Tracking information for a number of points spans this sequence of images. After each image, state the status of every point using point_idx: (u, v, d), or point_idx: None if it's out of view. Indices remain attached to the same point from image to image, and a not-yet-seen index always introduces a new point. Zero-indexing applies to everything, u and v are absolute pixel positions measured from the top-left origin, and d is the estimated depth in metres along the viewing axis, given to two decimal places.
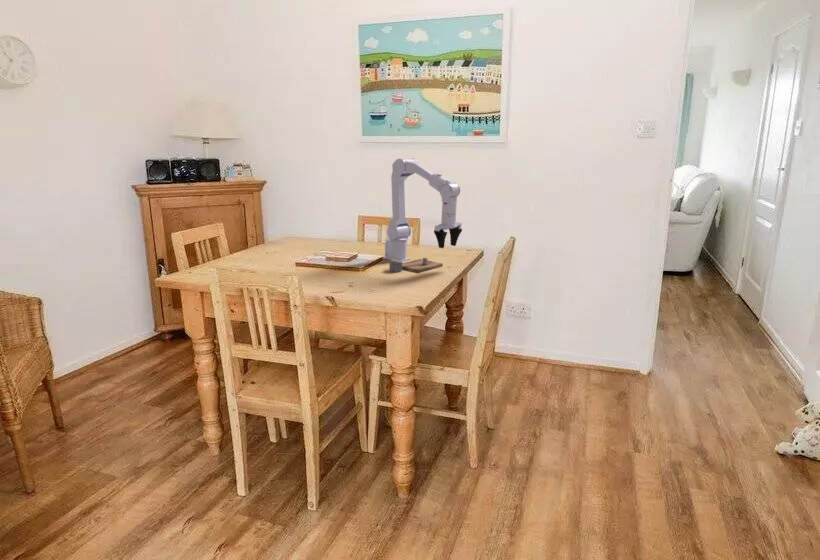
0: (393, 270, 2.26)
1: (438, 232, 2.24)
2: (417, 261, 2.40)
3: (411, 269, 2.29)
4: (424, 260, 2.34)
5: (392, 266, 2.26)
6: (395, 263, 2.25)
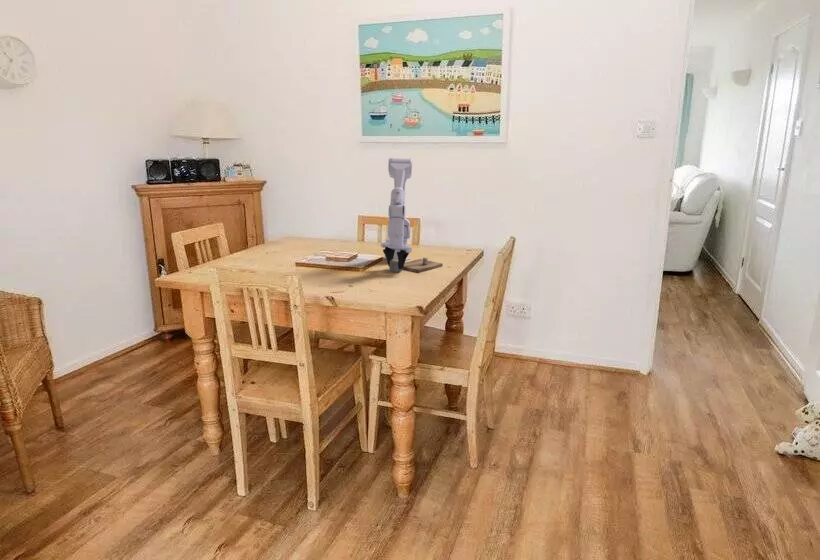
0: (393, 270, 2.26)
1: None
2: (417, 261, 2.40)
3: (411, 269, 2.29)
4: (424, 260, 2.34)
5: (392, 266, 2.26)
6: (395, 263, 2.25)
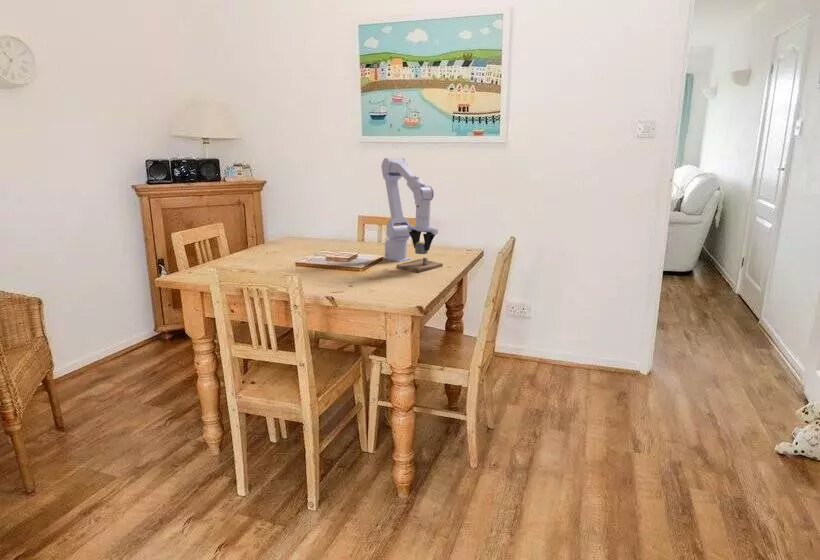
0: (419, 252, 2.30)
1: None
2: (417, 261, 2.40)
3: (411, 269, 2.29)
4: (424, 260, 2.34)
5: (418, 248, 2.30)
6: (421, 245, 2.29)
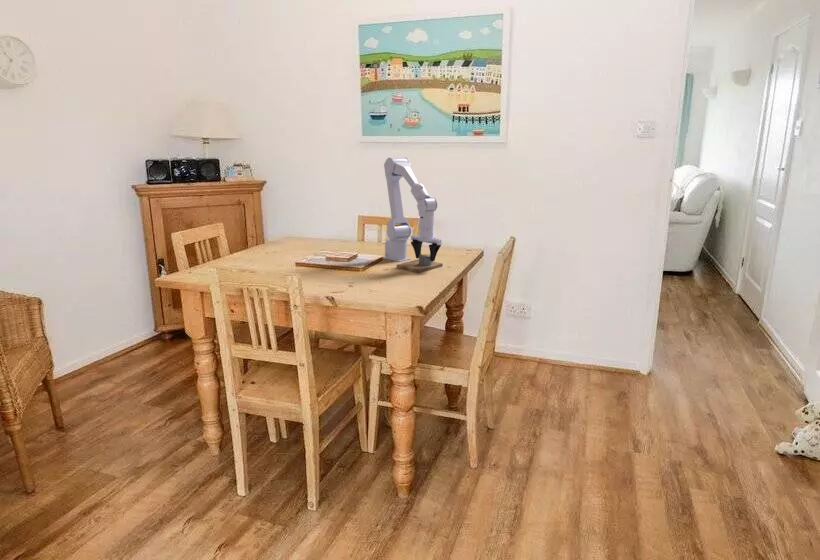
0: (423, 264, 2.33)
1: None
2: (417, 261, 2.40)
3: (411, 269, 2.29)
4: None
5: (422, 260, 2.32)
6: (425, 257, 2.32)
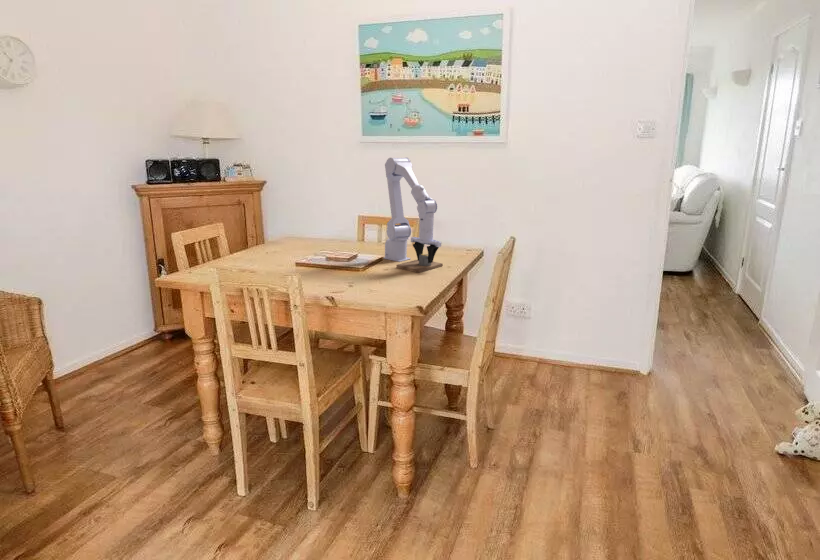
0: (423, 264, 2.33)
1: None
2: (417, 261, 2.40)
3: (411, 269, 2.29)
4: None
5: (422, 260, 2.32)
6: (425, 257, 2.32)
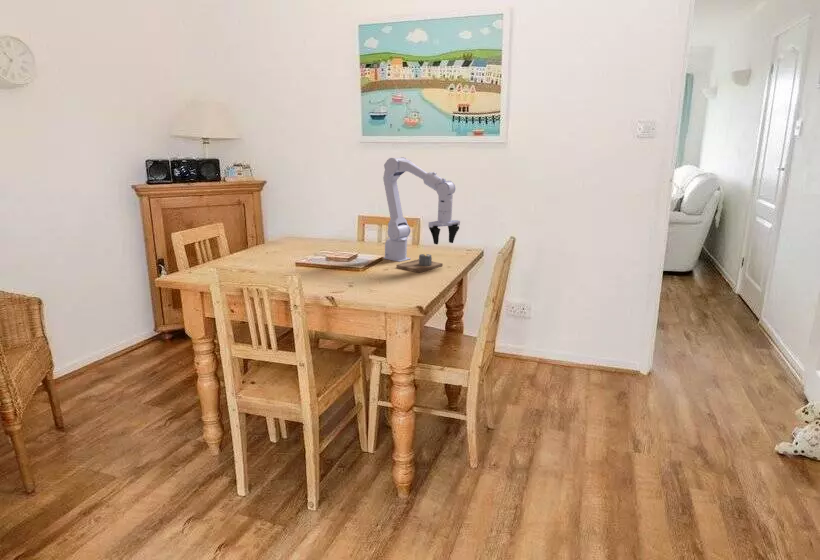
0: None
1: (432, 228, 2.31)
2: (417, 261, 2.40)
3: (411, 269, 2.29)
4: None
5: None
6: None
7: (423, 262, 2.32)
